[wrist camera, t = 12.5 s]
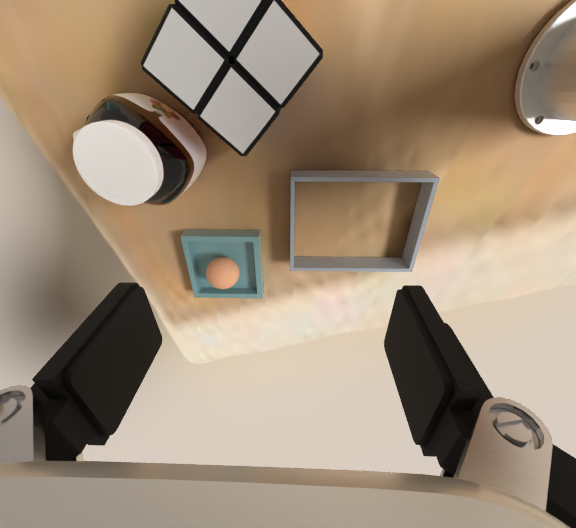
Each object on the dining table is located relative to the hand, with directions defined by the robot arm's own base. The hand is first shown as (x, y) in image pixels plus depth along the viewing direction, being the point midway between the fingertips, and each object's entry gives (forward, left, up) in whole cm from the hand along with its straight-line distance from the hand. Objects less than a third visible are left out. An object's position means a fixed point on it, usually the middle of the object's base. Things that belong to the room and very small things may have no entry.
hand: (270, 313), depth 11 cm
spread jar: (+16, -1, -28) cm, 32 cm away
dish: (+9, +15, -28) cm, 33 cm away
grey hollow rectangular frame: (-9, +8, -28) cm, 30 cm away
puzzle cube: (+4, -9, -28) cm, 29 cm away
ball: (+9, +15, -27) cm, 32 cm away
